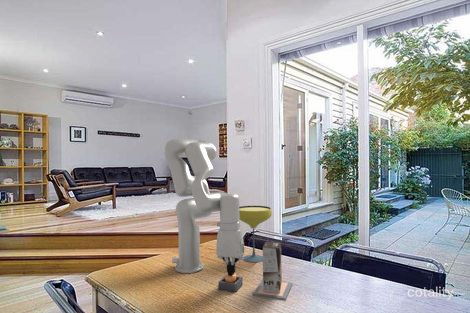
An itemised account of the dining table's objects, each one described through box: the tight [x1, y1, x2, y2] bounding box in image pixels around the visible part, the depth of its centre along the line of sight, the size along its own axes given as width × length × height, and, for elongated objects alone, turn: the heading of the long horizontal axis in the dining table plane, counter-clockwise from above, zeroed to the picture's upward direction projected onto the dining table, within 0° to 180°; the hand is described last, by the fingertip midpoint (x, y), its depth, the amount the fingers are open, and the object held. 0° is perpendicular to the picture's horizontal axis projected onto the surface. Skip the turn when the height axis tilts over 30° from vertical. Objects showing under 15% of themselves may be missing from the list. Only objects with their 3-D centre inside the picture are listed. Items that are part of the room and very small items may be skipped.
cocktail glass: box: [239, 205, 273, 263], centre depth 148 cm, size 18×18×25 cm
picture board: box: [252, 278, 293, 301], centre depth 112 cm, size 12×14×1 cm
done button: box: [224, 272, 237, 283], centre depth 115 cm, size 4×4×3 cm
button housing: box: [217, 275, 243, 293], centre depth 115 cm, size 7×7×3 cm
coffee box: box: [262, 241, 283, 293], centre depth 113 cm, size 9×6×16 cm
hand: (231, 274), depth 115 cm, fingers closed
